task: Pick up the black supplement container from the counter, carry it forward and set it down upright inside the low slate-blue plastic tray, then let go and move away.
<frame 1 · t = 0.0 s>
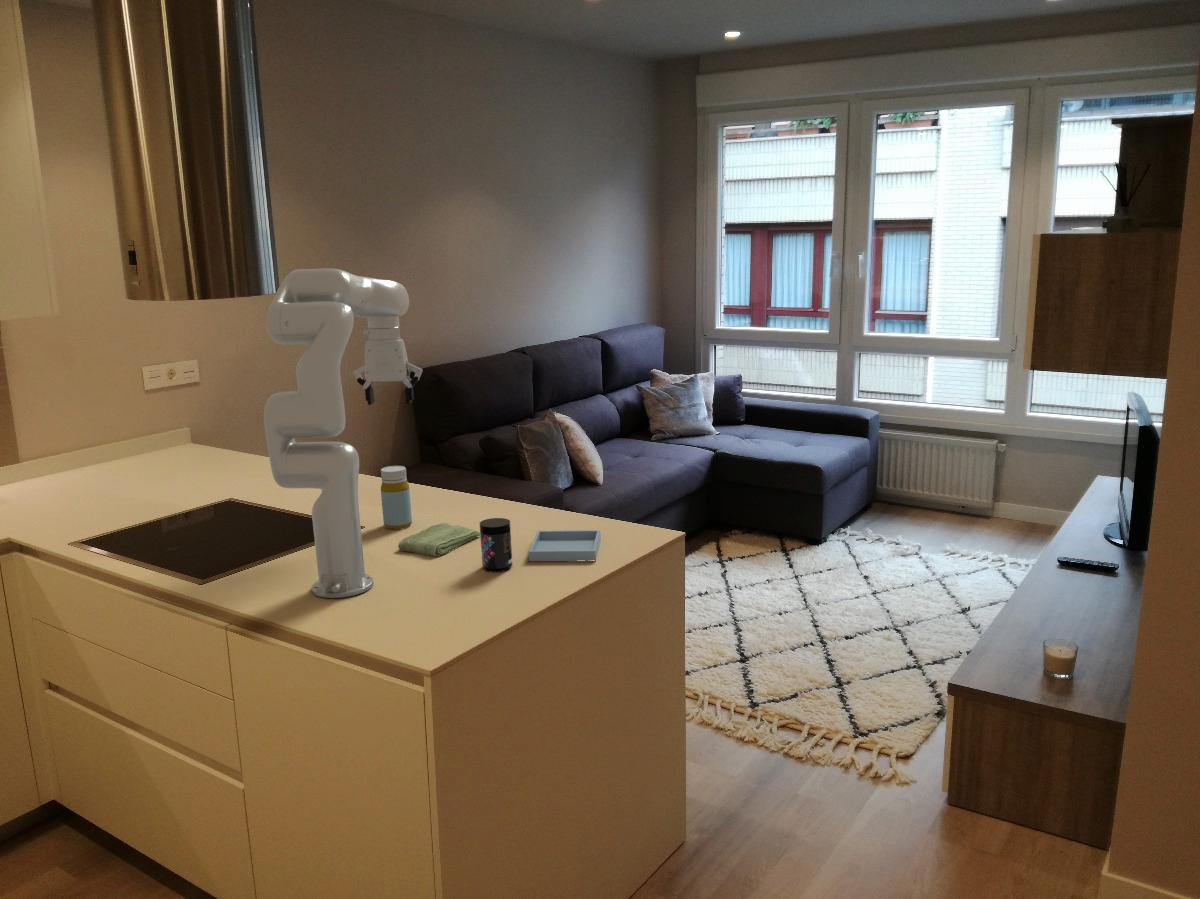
hand: (390, 403, 246), 31 cm above the countertop, tool pointing down, fingers open, 9 cm apart
washcloth: (439, 545, 237), on the countertop
supplement container: (497, 568, 219), on the countertop
tray: (565, 550, 228), on the countertop
bottle: (398, 526, 251), on the countertop
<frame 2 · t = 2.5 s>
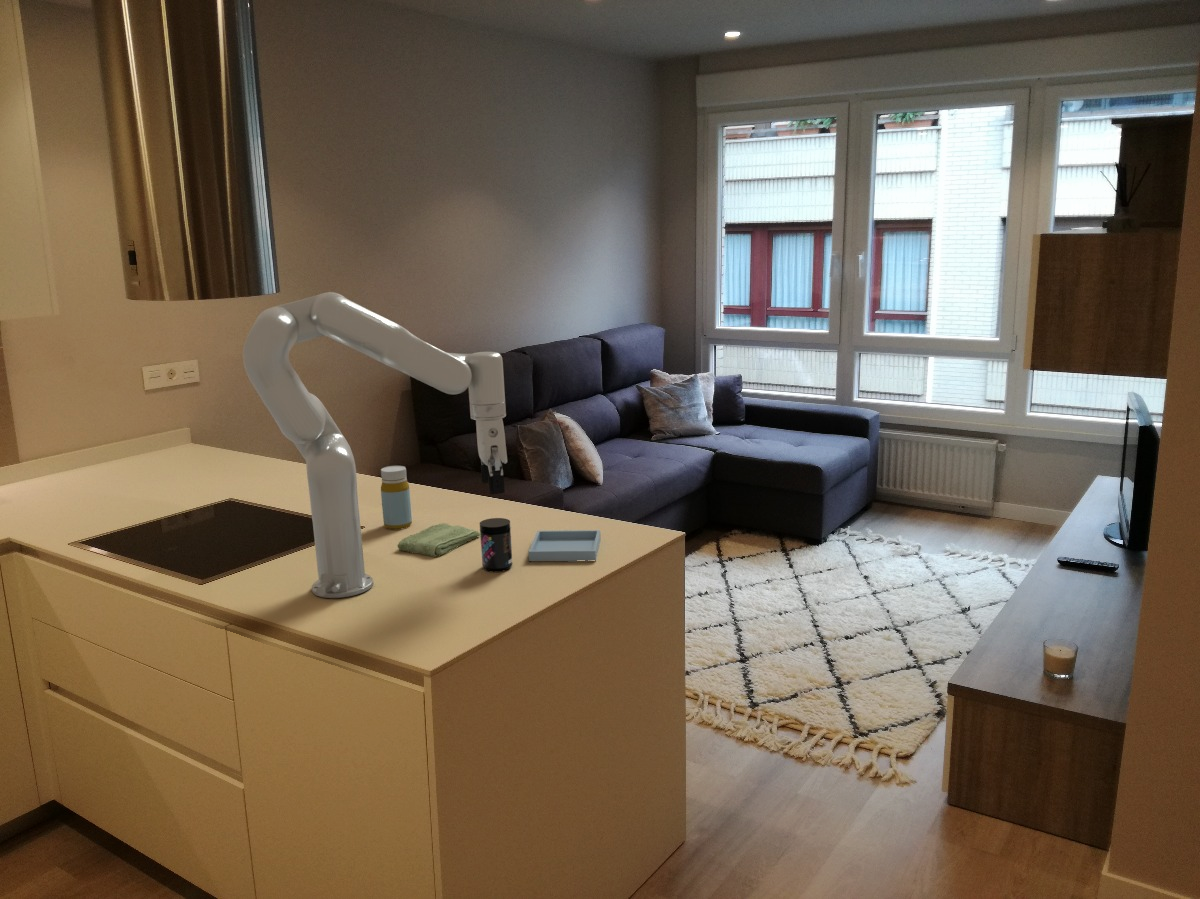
hand: (493, 487, 215), 18 cm above the countertop, tool pointing down, fingers open, 9 cm apart
nothing on the countertop moved.
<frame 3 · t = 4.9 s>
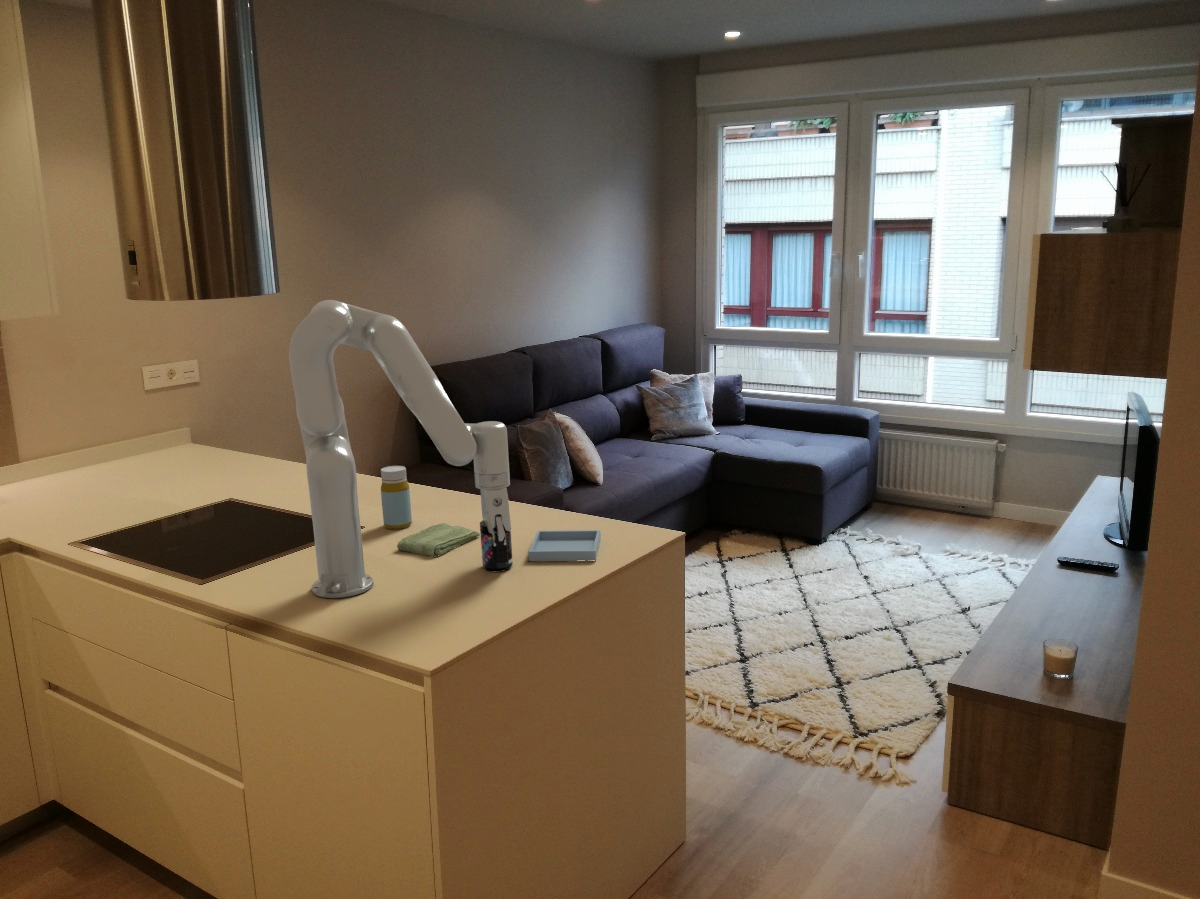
hand: (497, 556, 218), 3 cm above the countertop, tool pointing down, fingers closed on supplement container, 6 cm apart
supplement container: (497, 568, 219), on the countertop, touching gripper
everything else where it was.
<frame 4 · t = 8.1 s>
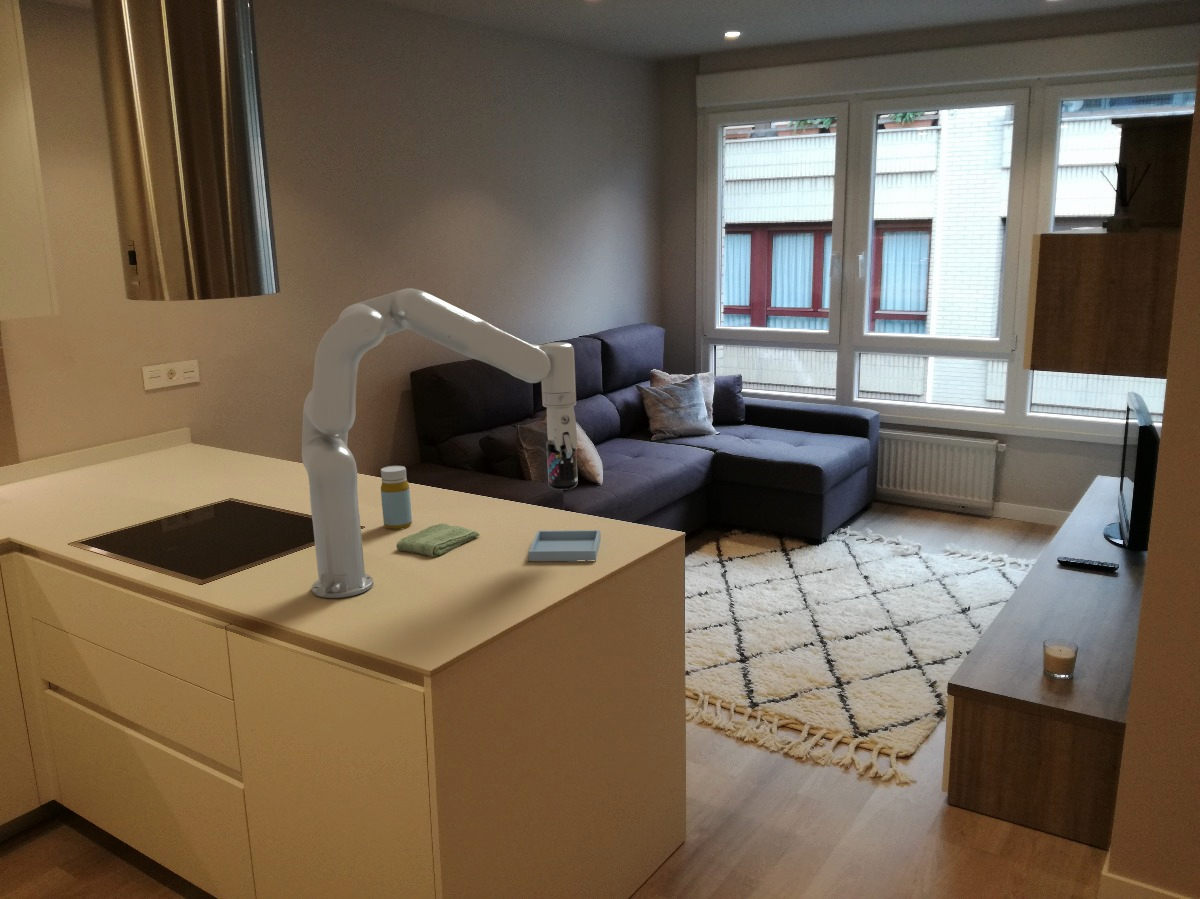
hand: (562, 475, 224), 18 cm above the countertop, tool pointing down, fingers closed on supplement container, 6 cm apart
supplement container: (563, 487, 225), point 15 cm above the countertop, touching gripper
everything else where it was.
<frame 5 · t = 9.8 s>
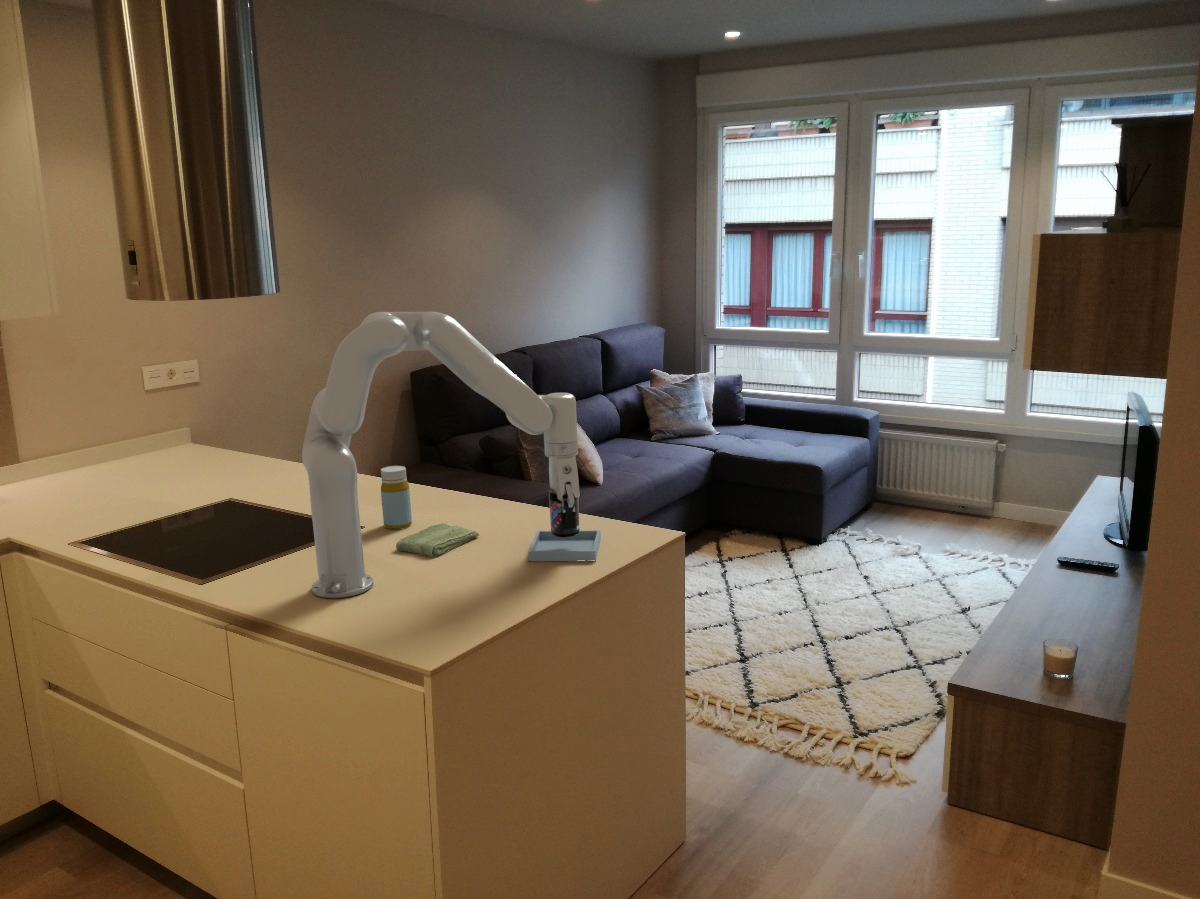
hand: (564, 523, 227), 7 cm above the countertop, tool pointing down, fingers closed on supplement container, 6 cm apart
supplement container: (565, 534, 227), point 4 cm above the countertop, touching gripper
everything else where it was.
when the fingers open (4 cm above the countertop, at t = 11.4 s): supplement container stays where it is, resting on tray.
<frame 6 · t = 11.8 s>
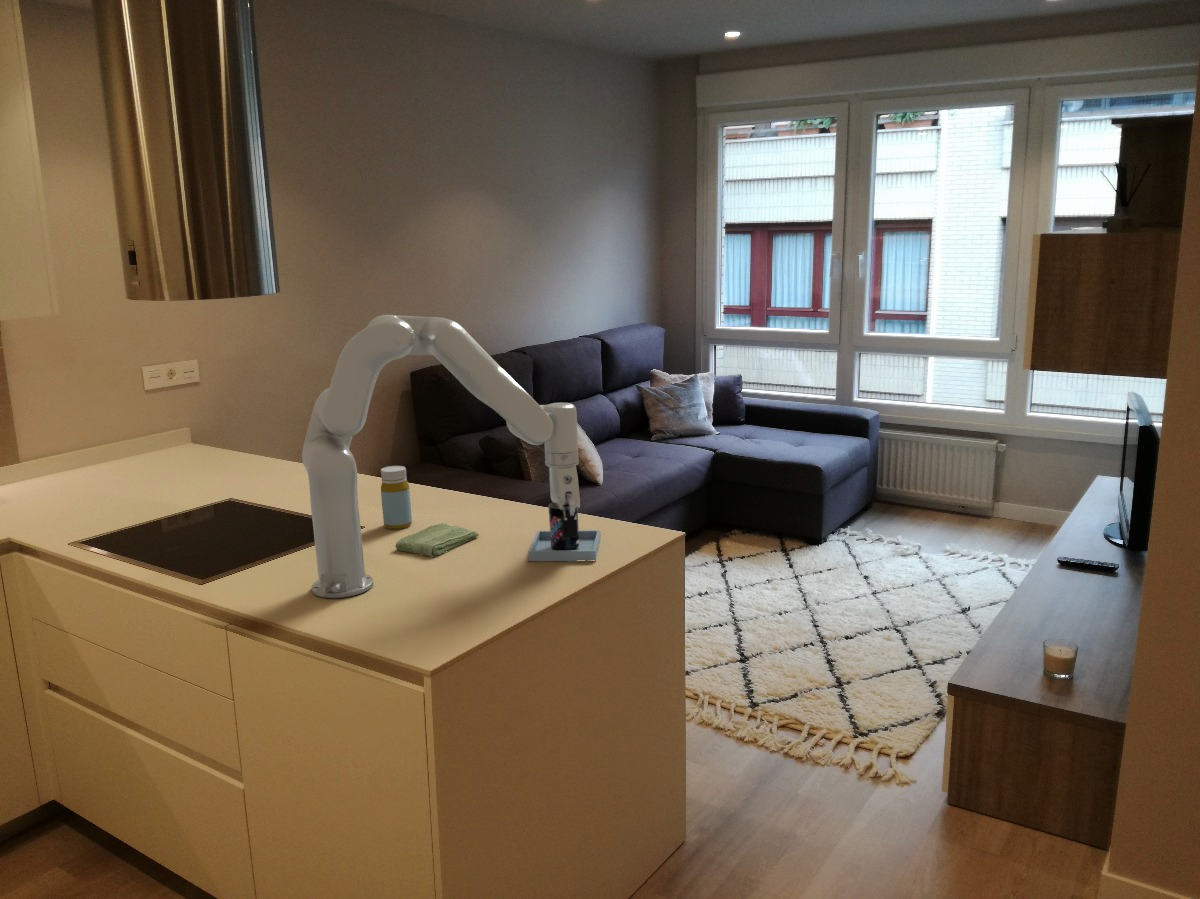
hand: (565, 530, 227), 5 cm above the countertop, tool pointing down, fingers open, 9 cm apart
supplement container: (565, 548, 228), resting on tray
everything else where it was.
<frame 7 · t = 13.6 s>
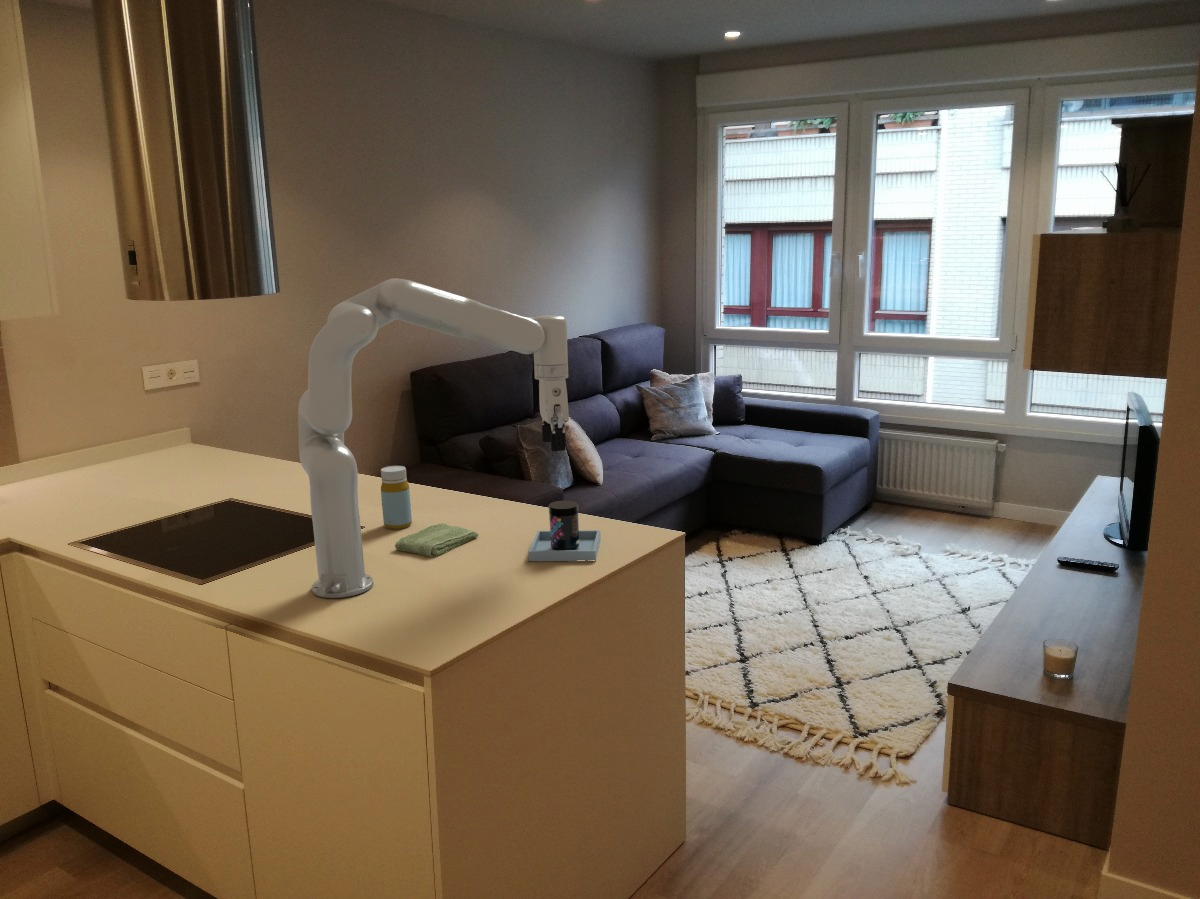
hand: (553, 446, 225), 24 cm above the countertop, tool pointing down, fingers open, 9 cm apart
nothing on the countertop moved.
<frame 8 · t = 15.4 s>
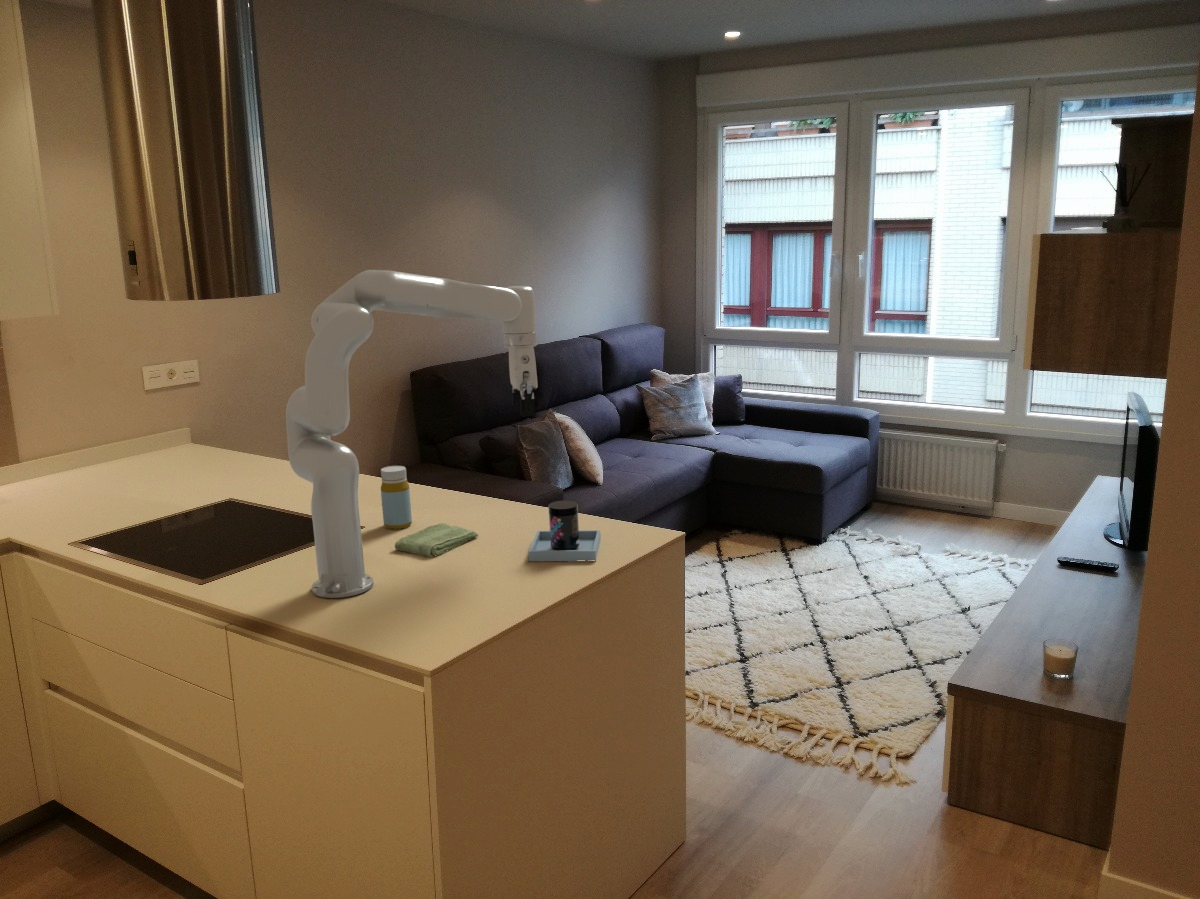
hand: (523, 412, 234), 30 cm above the countertop, tool pointing down, fingers open, 9 cm apart
nothing on the countertop moved.
at the end: supplement container inside the target area on the tray (0.1 cm from its centre), point 0.4 cm above the tray's base; supplement container tilted 0°; the gripper is holding nothing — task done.
